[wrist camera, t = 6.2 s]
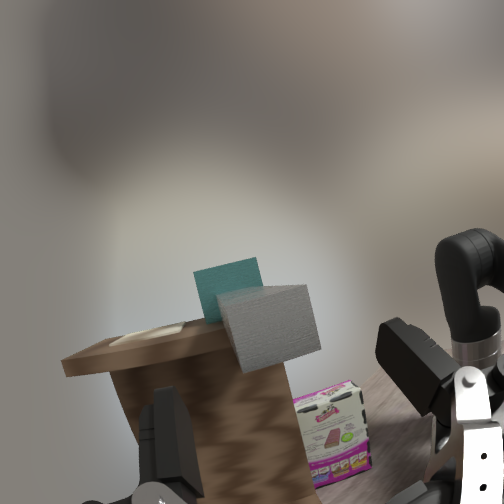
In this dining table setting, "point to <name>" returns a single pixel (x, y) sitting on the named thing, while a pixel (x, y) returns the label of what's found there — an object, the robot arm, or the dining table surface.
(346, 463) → the candy bar box
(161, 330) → the bracket shelf
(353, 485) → the dining table surface
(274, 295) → the grey and teal bar
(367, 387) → the dining table surface
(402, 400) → the dining table surface
